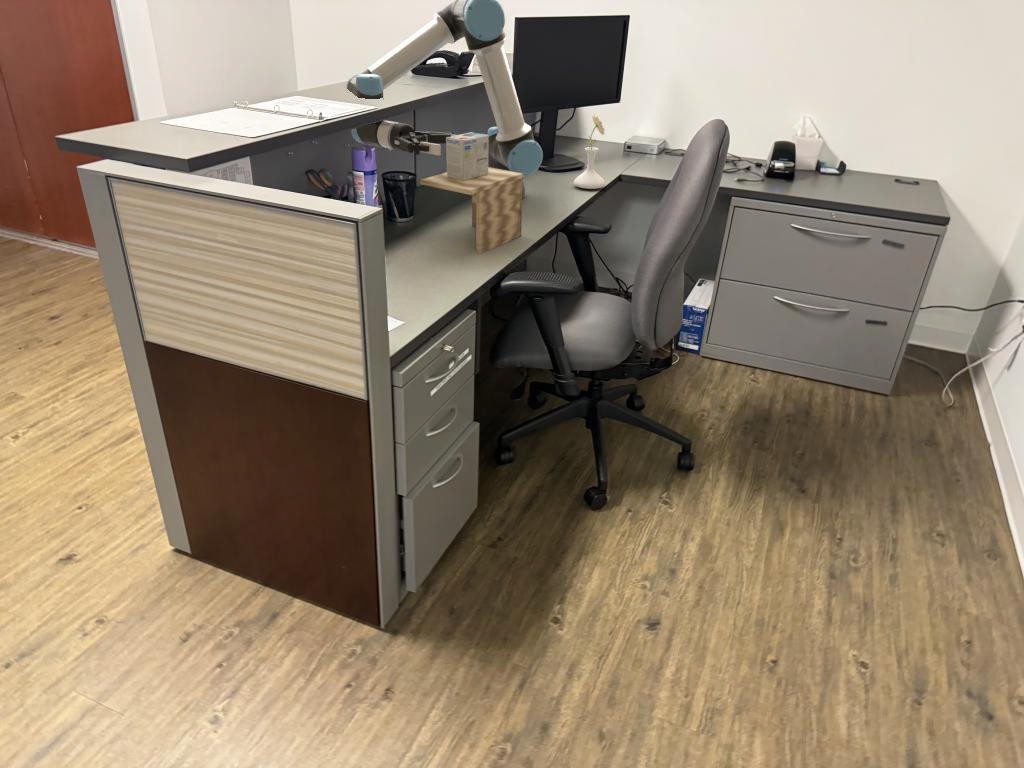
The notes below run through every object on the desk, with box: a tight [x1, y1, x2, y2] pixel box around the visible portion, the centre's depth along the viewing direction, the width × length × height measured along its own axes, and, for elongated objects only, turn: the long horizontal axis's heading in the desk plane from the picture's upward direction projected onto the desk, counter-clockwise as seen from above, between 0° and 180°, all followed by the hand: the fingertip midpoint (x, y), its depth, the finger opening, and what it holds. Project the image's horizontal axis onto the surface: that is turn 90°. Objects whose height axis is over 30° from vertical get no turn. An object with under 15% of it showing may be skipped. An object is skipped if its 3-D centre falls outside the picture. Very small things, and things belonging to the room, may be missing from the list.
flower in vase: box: [573, 113, 606, 190], centre depth 268 cm, size 13×11×25 cm
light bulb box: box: [445, 131, 489, 181], centre depth 206 cm, size 11×7×11 cm, turn 141°
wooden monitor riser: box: [419, 167, 524, 254], centre depth 212 cm, size 24×17×18 cm
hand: (455, 146), depth 207 cm, fingers open, 13 cm apart
